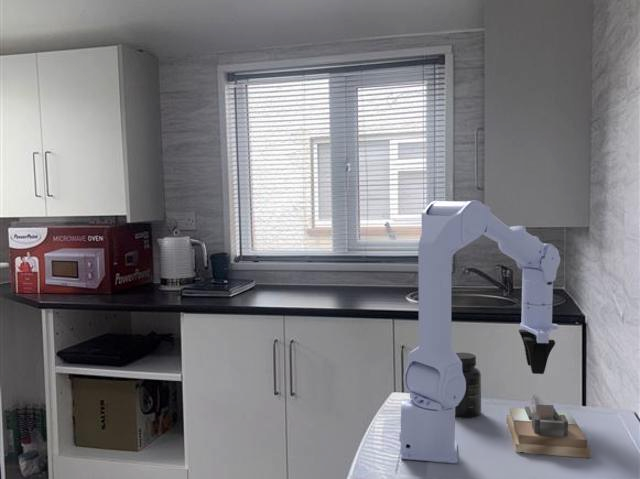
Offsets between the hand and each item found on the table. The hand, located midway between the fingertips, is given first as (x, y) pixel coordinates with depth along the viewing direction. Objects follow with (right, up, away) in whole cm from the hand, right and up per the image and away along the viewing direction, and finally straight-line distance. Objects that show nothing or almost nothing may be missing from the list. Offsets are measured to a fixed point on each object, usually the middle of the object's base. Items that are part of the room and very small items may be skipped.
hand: (535, 369), depth 113 cm
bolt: (-2, -7, -7) cm, 10 cm away
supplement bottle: (-14, -10, +2) cm, 17 cm away
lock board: (-2, -10, -10) cm, 15 cm away
